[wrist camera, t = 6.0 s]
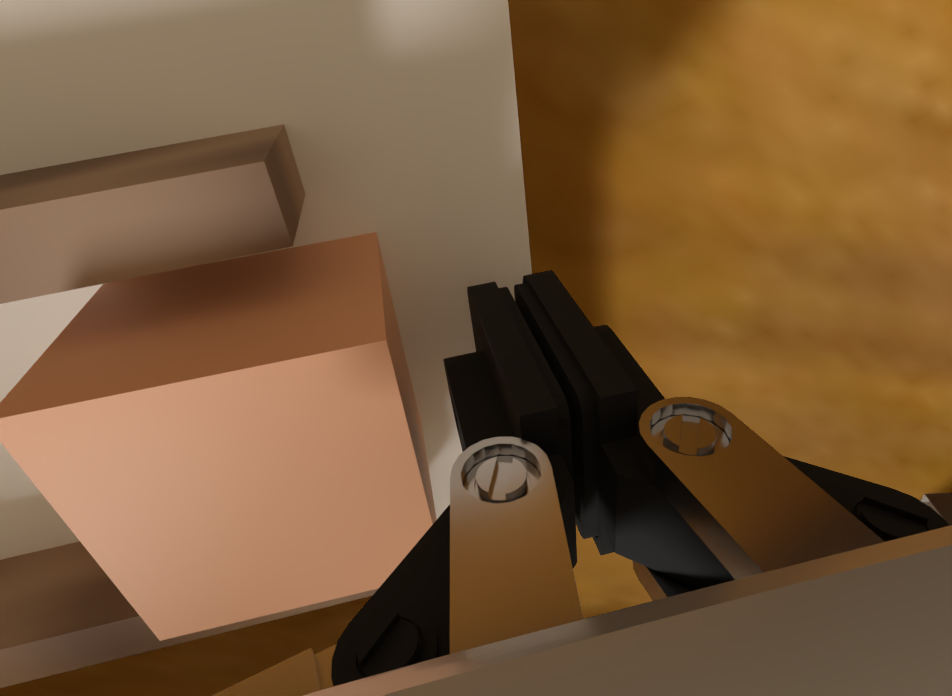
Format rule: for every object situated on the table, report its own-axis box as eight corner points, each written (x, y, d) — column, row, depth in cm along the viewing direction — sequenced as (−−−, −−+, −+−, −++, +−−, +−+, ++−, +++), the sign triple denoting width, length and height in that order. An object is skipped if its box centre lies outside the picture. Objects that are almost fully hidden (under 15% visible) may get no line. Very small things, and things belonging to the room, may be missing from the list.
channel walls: (283, 124, 9) (264, 161, 7) (400, 501, 15) (408, 586, 12) (-442, 254, 8) (-701, 338, 6) (-44, 606, 14) (-114, 716, 12)
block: (376, 231, 11) (386, 340, 7) (422, 428, 13) (445, 572, 10) (104, 282, 10) (-16, 421, 7) (209, 474, 13) (159, 641, 10)
